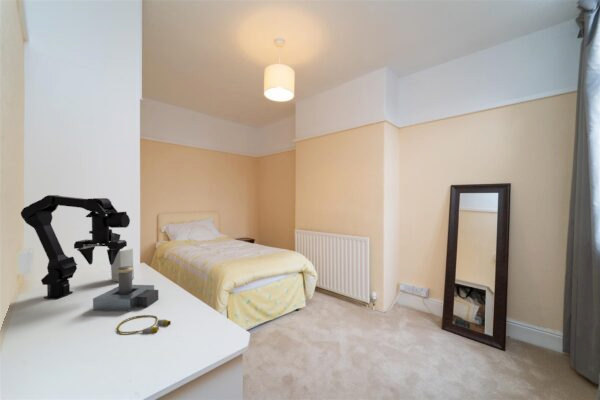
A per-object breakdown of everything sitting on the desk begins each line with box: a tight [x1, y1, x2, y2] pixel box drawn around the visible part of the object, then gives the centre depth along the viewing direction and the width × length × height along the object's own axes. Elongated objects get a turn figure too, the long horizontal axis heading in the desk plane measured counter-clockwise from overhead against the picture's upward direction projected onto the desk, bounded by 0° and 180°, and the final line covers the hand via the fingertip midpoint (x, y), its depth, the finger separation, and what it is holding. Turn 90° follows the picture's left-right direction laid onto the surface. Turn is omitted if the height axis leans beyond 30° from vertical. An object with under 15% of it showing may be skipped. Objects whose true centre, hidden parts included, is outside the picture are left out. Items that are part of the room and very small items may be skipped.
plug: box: [118, 266, 133, 295], centre depth 97 cm, size 5×5×14 cm
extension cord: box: [116, 314, 172, 336], centre depth 80 cm, size 12×16×2 cm
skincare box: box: [110, 247, 135, 283], centre depth 123 cm, size 8×7×16 cm
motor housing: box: [92, 284, 159, 313], centre depth 97 cm, size 18×14×4 cm
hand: (101, 264), depth 104 cm, fingers open, 9 cm apart
